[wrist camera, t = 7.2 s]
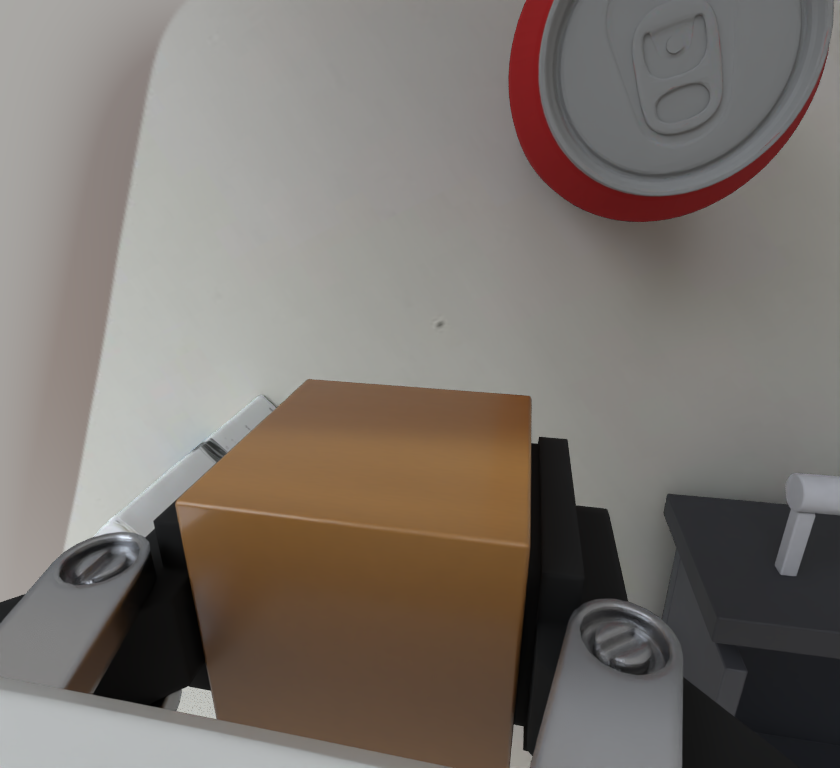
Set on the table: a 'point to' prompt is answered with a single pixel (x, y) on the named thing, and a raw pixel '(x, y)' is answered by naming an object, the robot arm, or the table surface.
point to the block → (369, 570)
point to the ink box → (186, 472)
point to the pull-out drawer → (763, 611)
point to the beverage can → (661, 96)
